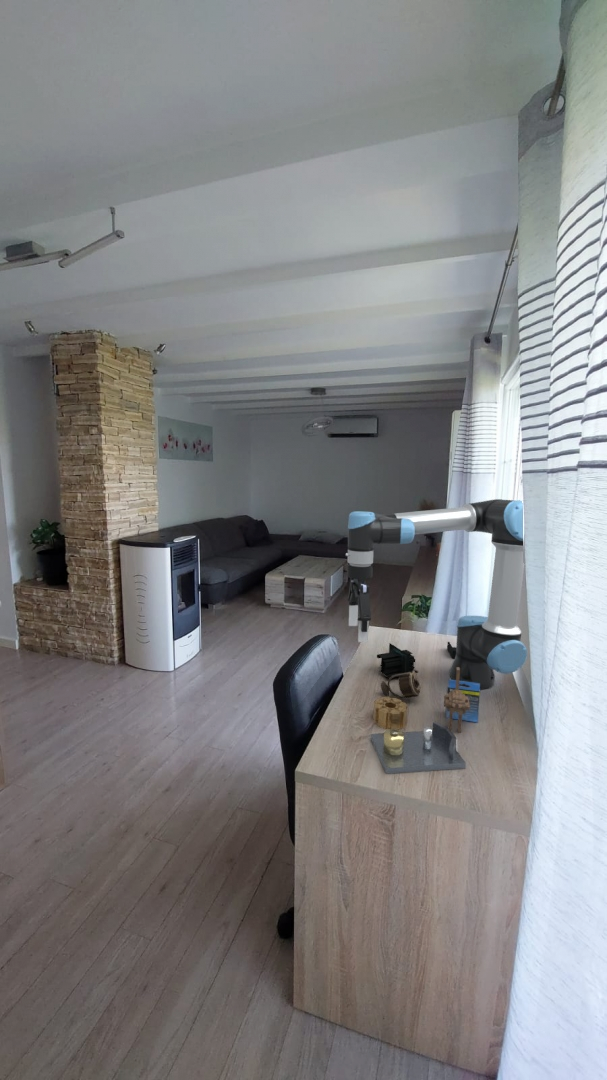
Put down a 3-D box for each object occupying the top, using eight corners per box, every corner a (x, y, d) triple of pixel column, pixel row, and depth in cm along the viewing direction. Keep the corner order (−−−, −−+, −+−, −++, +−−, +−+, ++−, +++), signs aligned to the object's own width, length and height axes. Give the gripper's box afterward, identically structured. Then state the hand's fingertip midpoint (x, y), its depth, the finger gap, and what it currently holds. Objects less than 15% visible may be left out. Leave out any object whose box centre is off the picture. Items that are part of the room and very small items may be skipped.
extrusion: (421, 680, 152) (422, 653, 150) (391, 686, 147) (392, 658, 146) (400, 665, 163) (402, 640, 162) (372, 670, 158) (373, 645, 157)
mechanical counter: (421, 709, 132) (423, 678, 130) (379, 704, 134) (380, 674, 133) (420, 697, 139) (421, 668, 137) (380, 693, 141) (381, 664, 140)
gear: (400, 711, 130) (400, 696, 129) (411, 729, 121) (411, 713, 120) (370, 713, 129) (370, 697, 128) (378, 731, 120) (379, 714, 119)
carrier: (440, 734, 119) (442, 712, 118) (465, 768, 105) (467, 743, 104) (370, 738, 116) (371, 716, 115) (386, 773, 102) (387, 748, 102)
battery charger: (478, 652, 177) (479, 643, 177) (485, 662, 168) (486, 652, 167) (446, 650, 179) (447, 641, 178) (452, 660, 169) (452, 650, 169)
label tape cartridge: (476, 716, 128) (479, 677, 127) (478, 723, 125) (480, 683, 123) (445, 711, 131) (447, 673, 129) (445, 718, 127) (448, 679, 125)
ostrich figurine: (442, 722, 125) (445, 664, 123) (467, 726, 123) (470, 667, 121) (441, 757, 110) (445, 691, 107) (469, 763, 107) (473, 696, 105)
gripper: (339, 556, 138) (338, 620, 140) (356, 573, 113) (354, 649, 116) (362, 556, 138) (360, 619, 141) (384, 573, 114) (381, 649, 117)
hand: (357, 633), depth 129 cm, fingers open, 13 cm apart
